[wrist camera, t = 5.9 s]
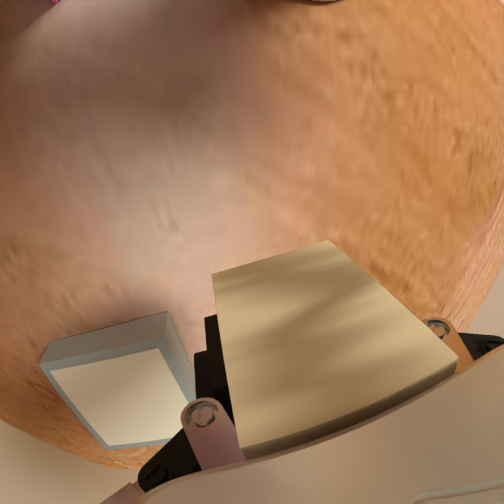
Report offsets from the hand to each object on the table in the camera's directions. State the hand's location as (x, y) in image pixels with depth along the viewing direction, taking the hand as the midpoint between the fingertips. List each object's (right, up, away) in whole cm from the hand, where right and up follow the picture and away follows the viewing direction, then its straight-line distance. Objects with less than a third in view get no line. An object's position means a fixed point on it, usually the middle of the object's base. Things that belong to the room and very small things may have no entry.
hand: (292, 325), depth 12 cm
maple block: (0, 0, +1) cm, 2 cm away
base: (-14, -11, +17) cm, 25 cm away
